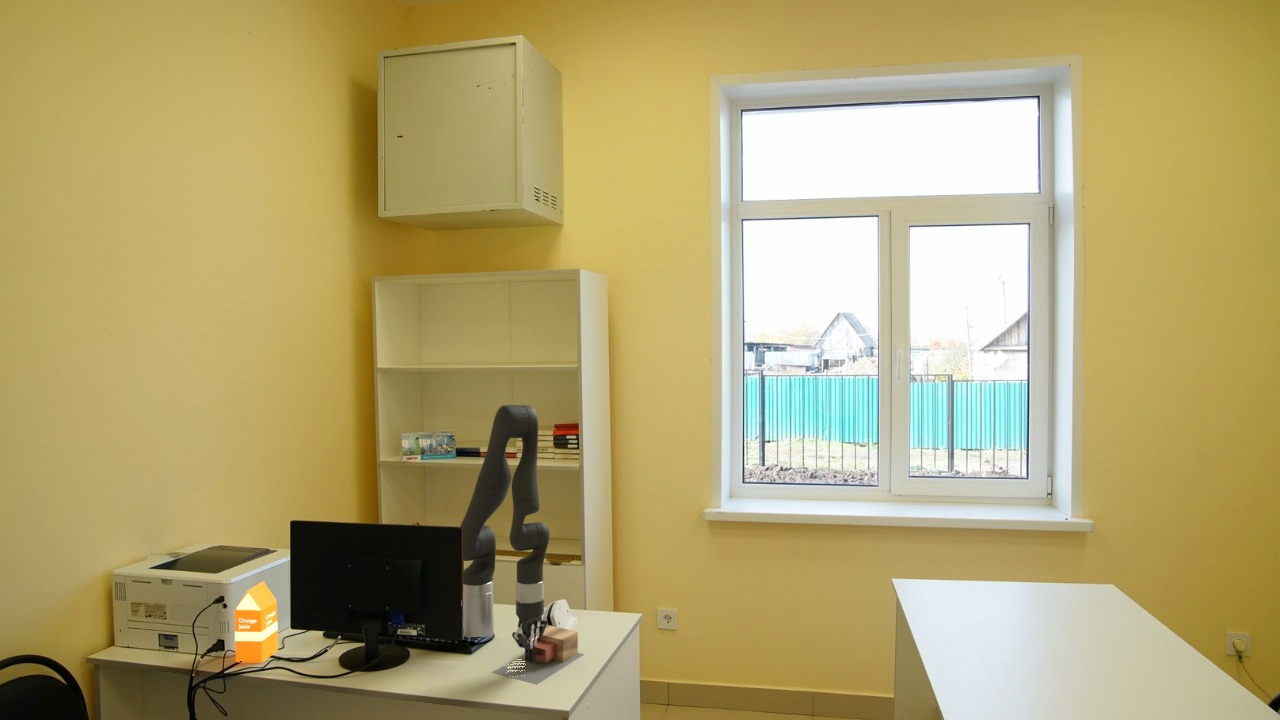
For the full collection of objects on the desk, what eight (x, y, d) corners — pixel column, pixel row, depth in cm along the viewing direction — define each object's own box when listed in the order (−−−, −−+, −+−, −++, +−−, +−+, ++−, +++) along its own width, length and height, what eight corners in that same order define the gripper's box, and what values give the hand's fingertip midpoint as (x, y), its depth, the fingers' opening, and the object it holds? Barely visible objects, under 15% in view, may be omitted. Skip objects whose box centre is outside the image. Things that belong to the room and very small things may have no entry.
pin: (546, 666, 220) (545, 649, 219) (525, 661, 223) (525, 645, 223) (577, 647, 233) (577, 631, 233) (558, 642, 236) (557, 627, 236)
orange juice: (235, 662, 225) (233, 590, 224) (252, 649, 234) (250, 580, 233) (262, 662, 225) (260, 591, 224) (278, 650, 233) (277, 581, 233)
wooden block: (530, 654, 228) (530, 632, 228) (545, 646, 234) (545, 624, 234) (563, 662, 223) (563, 639, 223) (577, 653, 229) (577, 631, 229)
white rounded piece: (565, 642, 237) (554, 610, 238) (551, 647, 238) (539, 615, 238) (579, 622, 254) (568, 592, 254) (565, 626, 255) (554, 596, 255)
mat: (491, 673, 217) (491, 672, 217) (541, 644, 236) (541, 644, 236) (537, 685, 209) (537, 684, 209) (584, 654, 228) (584, 654, 228)
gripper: (533, 588, 226) (534, 650, 227) (503, 601, 215) (503, 666, 215) (555, 592, 223) (556, 655, 223) (525, 606, 211) (526, 672, 212)
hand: (530, 660), depth 219 cm, fingers closed
